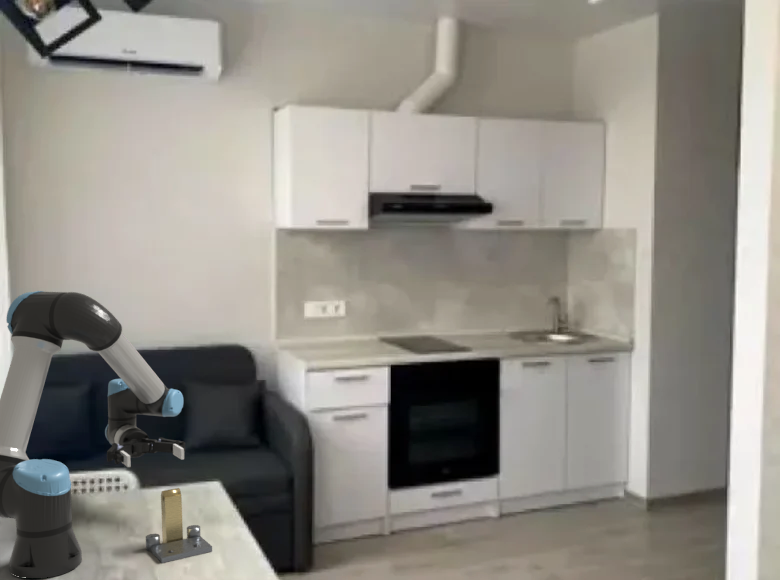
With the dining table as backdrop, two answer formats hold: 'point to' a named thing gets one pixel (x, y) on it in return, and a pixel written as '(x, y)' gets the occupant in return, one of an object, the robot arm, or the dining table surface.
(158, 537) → the fixed leaf
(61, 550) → the robot arm
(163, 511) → the brass rectangular post
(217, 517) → the dining table surface
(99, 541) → the dining table surface
